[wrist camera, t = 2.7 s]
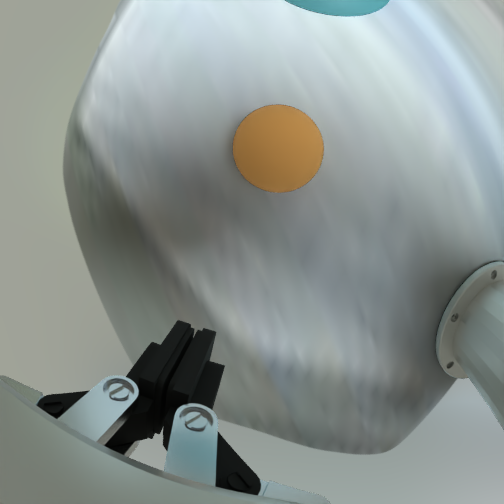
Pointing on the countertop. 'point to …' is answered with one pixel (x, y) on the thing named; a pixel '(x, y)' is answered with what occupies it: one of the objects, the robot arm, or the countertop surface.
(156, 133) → the countertop surface
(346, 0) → the disc
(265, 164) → the ball
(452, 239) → the countertop surface
